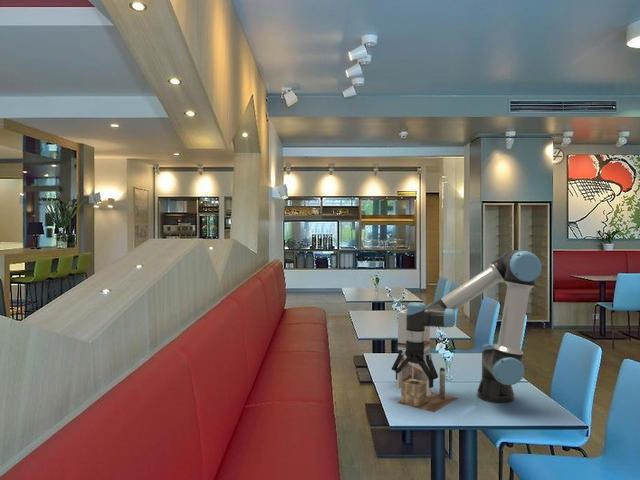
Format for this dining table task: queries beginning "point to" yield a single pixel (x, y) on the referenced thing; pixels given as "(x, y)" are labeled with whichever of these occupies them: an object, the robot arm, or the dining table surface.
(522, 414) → the dining table surface
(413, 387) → the tan wooden cube
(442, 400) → the board
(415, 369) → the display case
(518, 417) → the dining table surface
